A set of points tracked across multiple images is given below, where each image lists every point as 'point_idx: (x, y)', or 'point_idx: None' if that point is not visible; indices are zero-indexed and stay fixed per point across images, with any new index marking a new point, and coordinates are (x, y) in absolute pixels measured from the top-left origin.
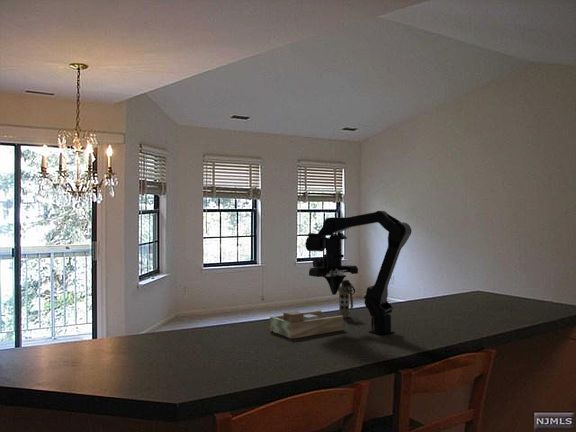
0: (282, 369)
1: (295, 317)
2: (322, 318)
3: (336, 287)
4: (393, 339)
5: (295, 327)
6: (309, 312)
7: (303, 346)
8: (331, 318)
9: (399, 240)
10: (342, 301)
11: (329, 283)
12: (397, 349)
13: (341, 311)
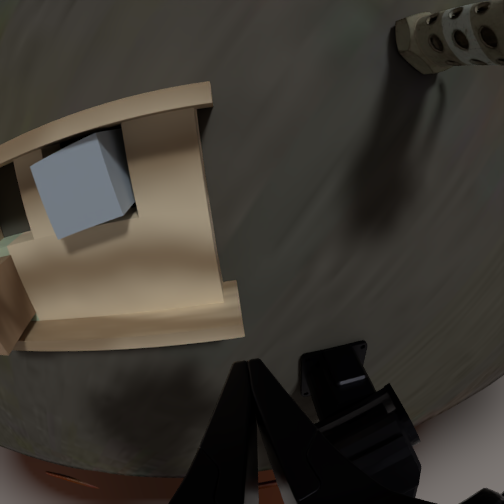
0: (24, 438)
1: None
2: (108, 343)
3: (268, 455)
4: None
5: None
6: (96, 127)
7: (44, 388)
8: (161, 343)
9: None
10: (465, 38)
11: (195, 483)
12: None
13: (419, 41)
